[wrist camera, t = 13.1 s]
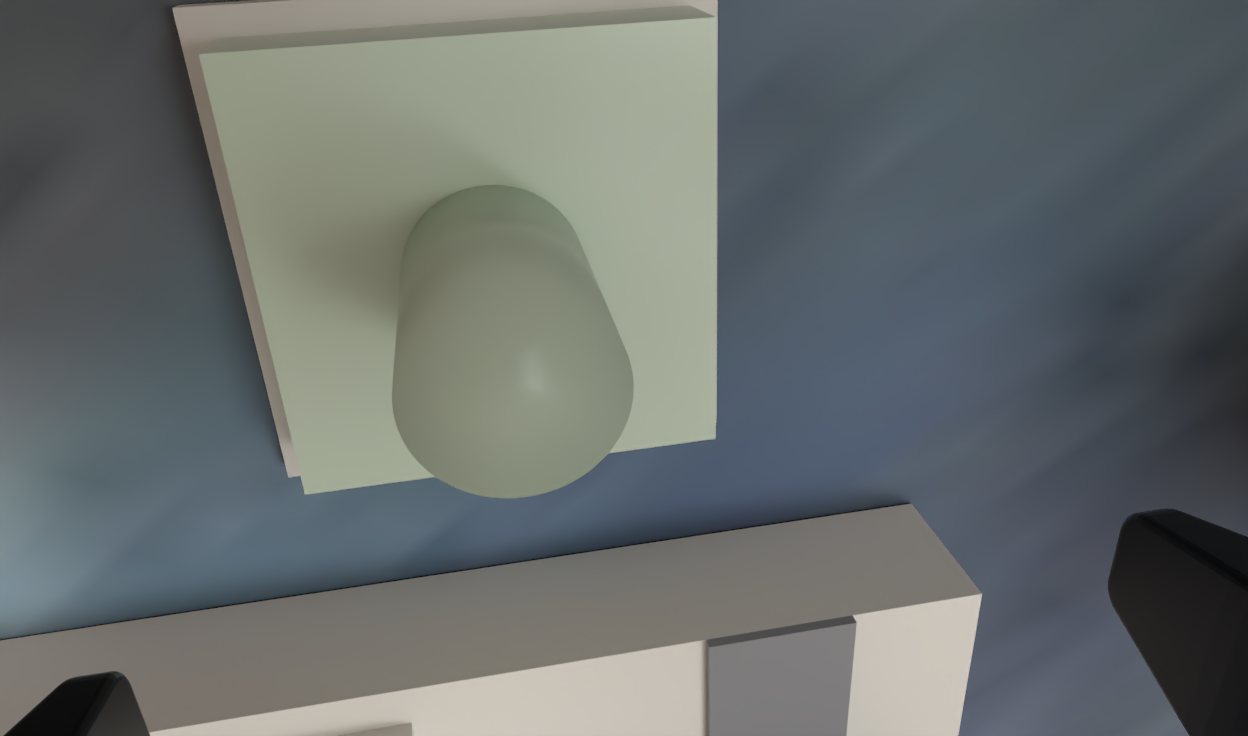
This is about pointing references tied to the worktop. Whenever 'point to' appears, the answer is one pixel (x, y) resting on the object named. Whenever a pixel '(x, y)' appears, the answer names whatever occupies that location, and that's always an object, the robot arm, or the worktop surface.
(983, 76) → the worktop surface
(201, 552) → the worktop surface
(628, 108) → the cover
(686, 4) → the pad
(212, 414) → the worktop surface
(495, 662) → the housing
